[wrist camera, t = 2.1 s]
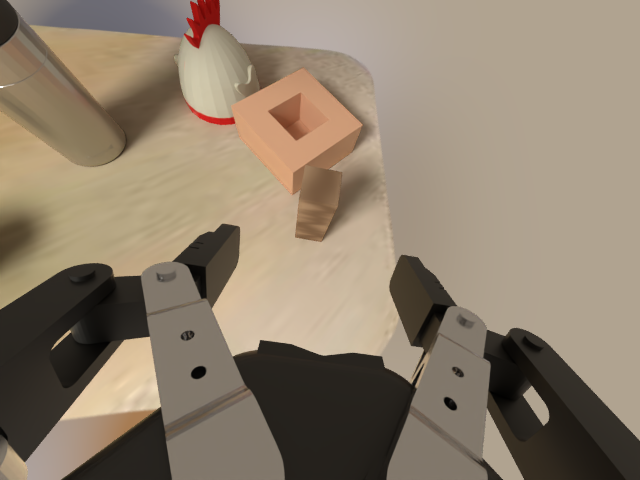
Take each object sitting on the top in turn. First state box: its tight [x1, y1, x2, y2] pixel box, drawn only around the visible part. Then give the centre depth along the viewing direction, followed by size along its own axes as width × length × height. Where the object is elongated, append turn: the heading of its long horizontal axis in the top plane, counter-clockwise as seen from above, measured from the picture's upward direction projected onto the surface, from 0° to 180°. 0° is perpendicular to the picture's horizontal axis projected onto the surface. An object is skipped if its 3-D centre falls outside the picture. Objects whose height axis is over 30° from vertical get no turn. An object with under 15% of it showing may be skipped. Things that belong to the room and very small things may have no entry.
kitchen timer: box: [174, 0, 260, 125], centre depth 39 cm, size 14×14×15 cm
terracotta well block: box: [231, 67, 363, 195], centre depth 42 cm, size 15×15×7 cm
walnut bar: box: [295, 165, 342, 242], centre depth 34 cm, size 4×4×14 cm
